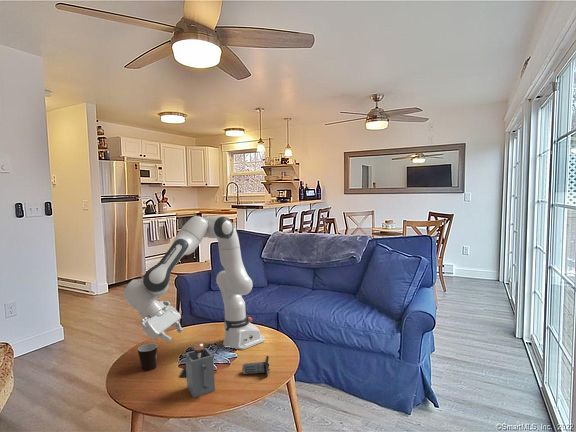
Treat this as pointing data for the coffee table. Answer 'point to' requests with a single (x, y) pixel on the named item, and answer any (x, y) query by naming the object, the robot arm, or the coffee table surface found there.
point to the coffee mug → (148, 356)
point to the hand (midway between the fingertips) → (176, 336)
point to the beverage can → (256, 367)
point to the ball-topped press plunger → (198, 348)
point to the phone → (183, 373)
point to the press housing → (200, 373)
